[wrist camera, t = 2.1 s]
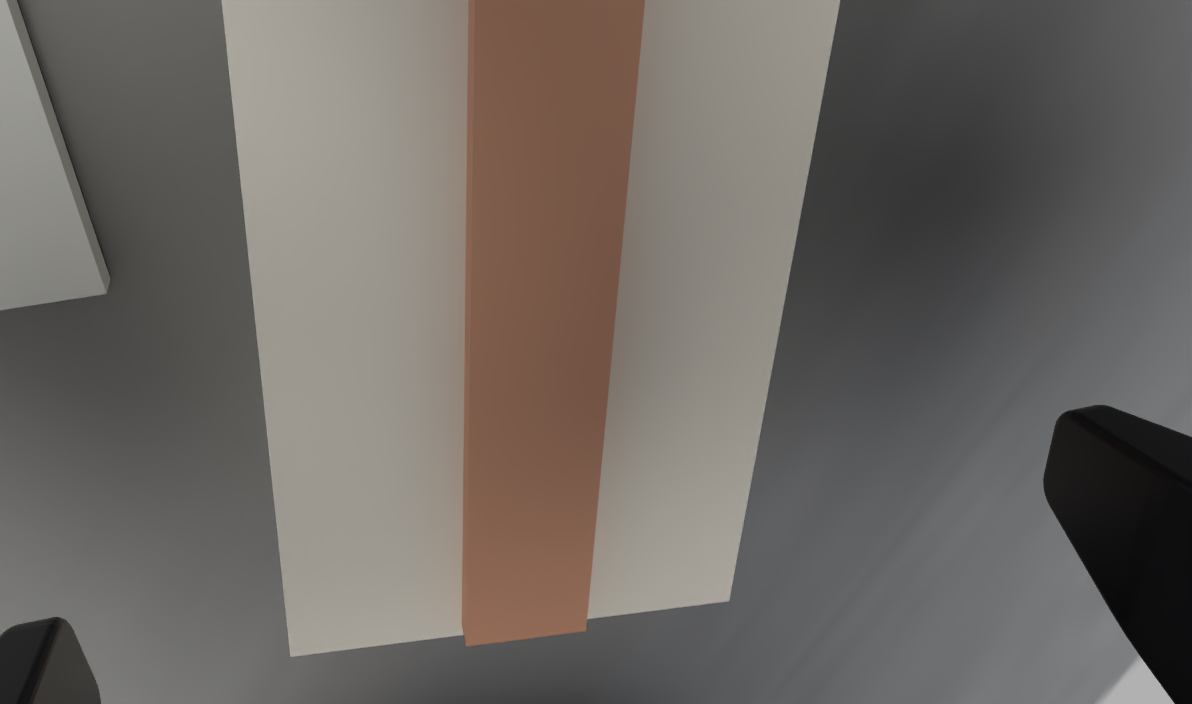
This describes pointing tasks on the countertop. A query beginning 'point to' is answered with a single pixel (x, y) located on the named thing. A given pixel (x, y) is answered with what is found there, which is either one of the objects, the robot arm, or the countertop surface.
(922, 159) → the countertop surface
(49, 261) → the mat
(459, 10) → the card box
